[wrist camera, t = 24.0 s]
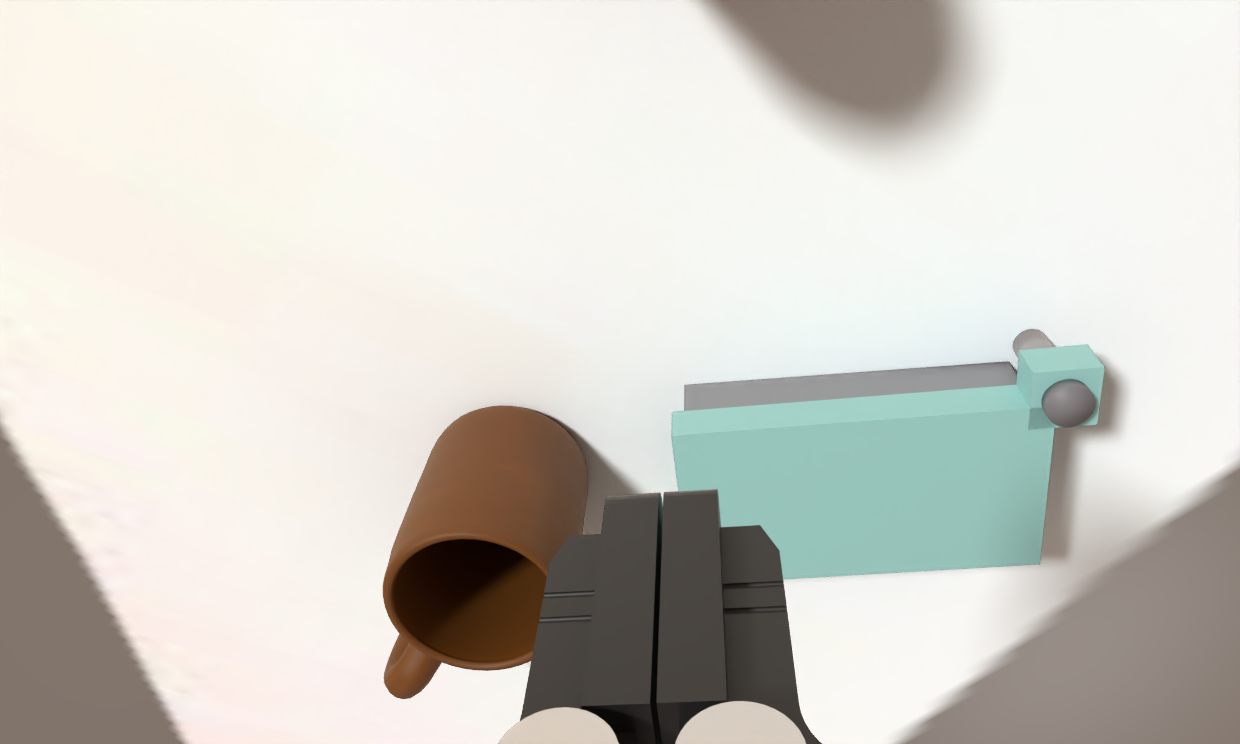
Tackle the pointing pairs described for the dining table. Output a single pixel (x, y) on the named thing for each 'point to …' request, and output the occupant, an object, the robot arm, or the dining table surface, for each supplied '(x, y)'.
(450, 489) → the mug
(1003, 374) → the grey rail
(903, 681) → the dining table surface
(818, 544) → the cover
